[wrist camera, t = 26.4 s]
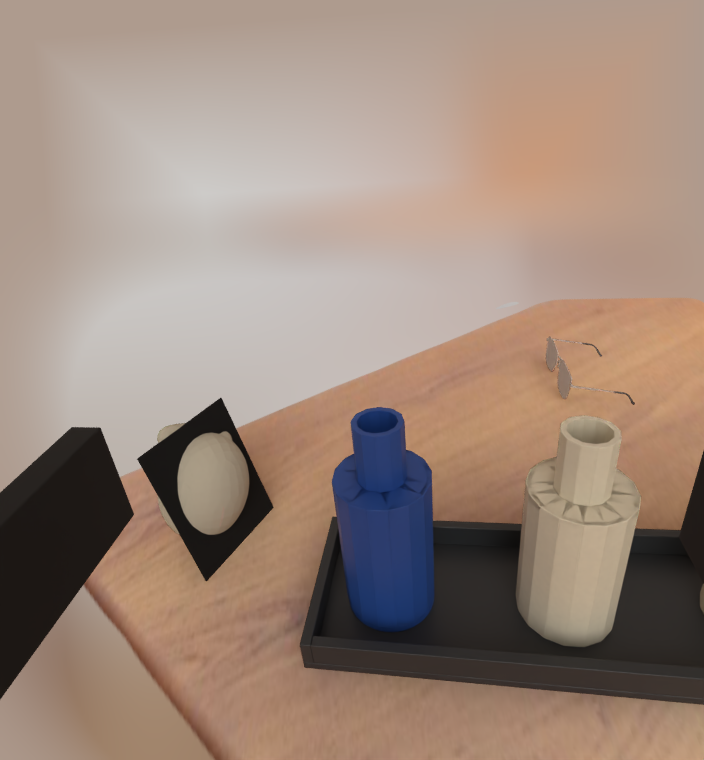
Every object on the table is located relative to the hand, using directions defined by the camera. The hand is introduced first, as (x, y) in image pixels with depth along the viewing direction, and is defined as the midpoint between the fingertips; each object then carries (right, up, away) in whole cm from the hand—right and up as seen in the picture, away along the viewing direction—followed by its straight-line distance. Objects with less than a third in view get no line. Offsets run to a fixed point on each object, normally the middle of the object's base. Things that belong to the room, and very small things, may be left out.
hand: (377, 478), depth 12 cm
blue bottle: (+3, -15, +30) cm, 33 cm away
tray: (+15, -15, +28) cm, 35 cm away
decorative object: (-14, -13, +39) cm, 43 cm away
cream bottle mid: (+15, -15, +28) cm, 35 cm away
